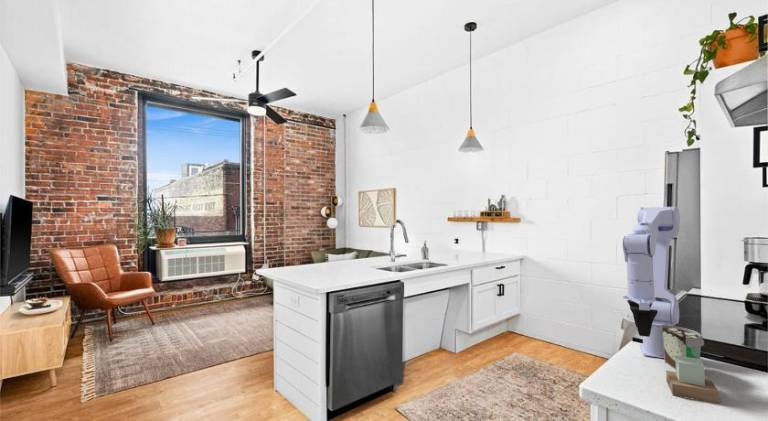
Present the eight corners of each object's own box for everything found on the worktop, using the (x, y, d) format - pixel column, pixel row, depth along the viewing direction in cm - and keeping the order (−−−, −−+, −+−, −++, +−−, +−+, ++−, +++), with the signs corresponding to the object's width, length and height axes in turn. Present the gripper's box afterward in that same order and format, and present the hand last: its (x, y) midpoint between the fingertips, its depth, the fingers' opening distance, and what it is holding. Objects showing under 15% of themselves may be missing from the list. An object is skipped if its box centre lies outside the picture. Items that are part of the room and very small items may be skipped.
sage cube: (675, 374, 87) (675, 355, 87) (700, 378, 85) (699, 359, 85) (679, 381, 83) (678, 362, 84) (704, 386, 81) (704, 365, 81)
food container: (718, 381, 89) (716, 340, 89) (689, 379, 90) (687, 339, 90) (687, 361, 101) (685, 325, 101) (661, 360, 102) (660, 324, 102)
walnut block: (666, 382, 90) (666, 370, 90) (709, 389, 86) (708, 376, 86) (672, 397, 83) (672, 383, 83) (719, 405, 79) (718, 391, 79)
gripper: (620, 274, 104) (622, 322, 104) (624, 283, 91) (626, 337, 91) (650, 276, 100) (653, 325, 100) (659, 285, 88) (661, 341, 88)
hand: (642, 331), depth 95 cm, fingers open, 7 cm apart
